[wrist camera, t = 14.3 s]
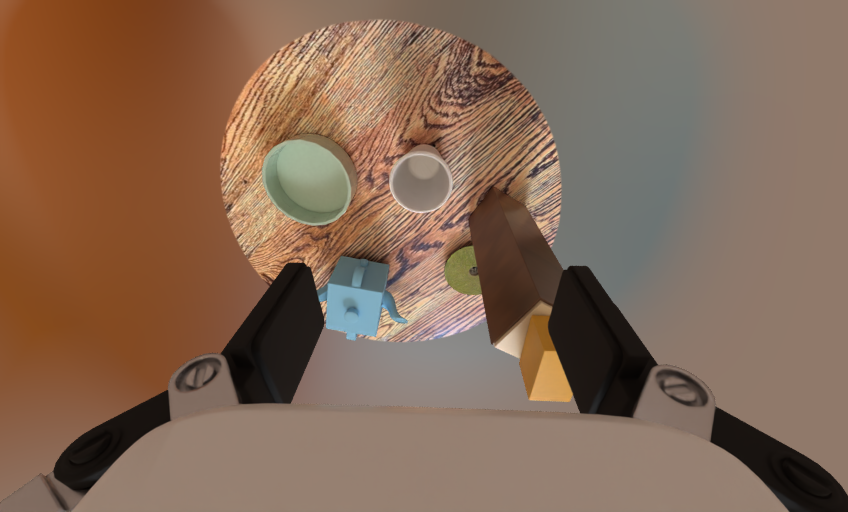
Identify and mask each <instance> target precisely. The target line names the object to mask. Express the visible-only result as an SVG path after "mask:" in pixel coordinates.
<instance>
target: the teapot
mask: <svg viewBox="0 0 848 512" xmlns="http://www.w3.org/2000/svg"><path fill="white" fill-rule="evenodd" d="M388 271H389V265H388V264H383V263H377V262H372V261H368V260H367V259H355V258H350V257H345V256H341V257H340V259H339V261H338V263H337V265H336V267H335V269H334V271H333V273H332V275H331V277H330V279H329V281H328V284H327V285H325V286H324V287H322V288H320V289H319V290H317V294H318V297H319V301H320V302H322V301H326V300H327V320H326V328H327V329H333V330H339V331H344V332H347V339H350V340H356V337H357V334H362V335H369V336H374V337H376V334H377V329H378V325H379V320H380V316H381V312H382V307H383V308H385V309H387V310H388V312H389V314H390V317H391V318H392V319H393V320H394V321H396V322H398V323H407V322H408V321H407V320H406V319H404V318H403V317H401V316H400V315H399V314H398V312H397V309H396V305H395V300H394V298H393V296H392V295H391V294H390V293H389V292H388V291H386V284H387V278H388Z"/></svg>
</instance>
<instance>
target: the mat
mask: <svg viewBox="0 0 848 512" xmlns="http://www.w3.org/2000/svg"><path fill="white" fill-rule="evenodd" d="M445 278H446V280H447V282H448V284H449V285H450V286H451V287H452V288H453V289H455V290H456V291H458V292H460V293H463V294H467V295H479V294H482V291H481V286H480V280H479V275H478V269H477V264H476V259H475V253H474V248H473V246H468V247H464V248H462V249H459V250H458V251H456V252H455V253H454V254H452V255H451V257H450V258H449V259H448V260H447V263H446V265H445Z"/></svg>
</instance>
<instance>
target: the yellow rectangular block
mask: <svg viewBox="0 0 848 512" xmlns="http://www.w3.org/2000/svg"><path fill="white" fill-rule="evenodd" d="M549 318H550V316H541V315H532V316H531V319H530V323H529V327H528V331H527V335H526V339H525V343H524V347H523V350H522V354H521V358H520V362H519V365H520V368H521V372H522V376H523V380H524V383H525V387H526V391H527V395H528V399H529V400H536V401H561V402H562V401H563V402H570V400H571V398H572V395H573V393H572V391H571V388H570V386H569V383H568V381H567V378H566V375H565V373H564V370H563V368H562V365H561V363H560V360H559V358H558V355H557V352H556V350H555V347H554V345H553V342H552V340H551V337H550V335H549V332H548V321H549Z"/></svg>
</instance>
